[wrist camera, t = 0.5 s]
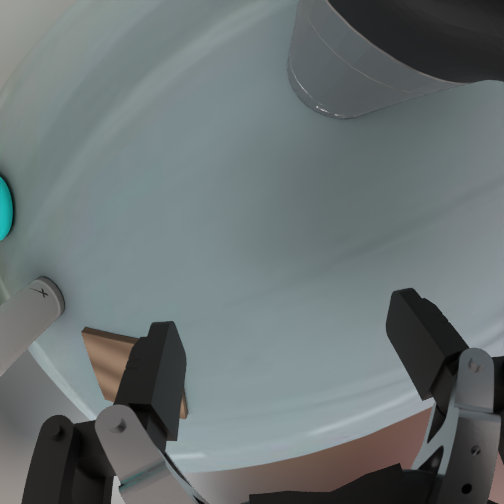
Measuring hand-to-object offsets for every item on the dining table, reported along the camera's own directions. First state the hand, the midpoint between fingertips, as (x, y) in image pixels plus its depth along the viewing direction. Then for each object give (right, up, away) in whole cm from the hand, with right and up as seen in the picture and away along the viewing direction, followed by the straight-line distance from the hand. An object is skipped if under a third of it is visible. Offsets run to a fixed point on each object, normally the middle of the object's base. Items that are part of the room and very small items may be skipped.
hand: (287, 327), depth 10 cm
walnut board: (-18, -15, +26) cm, 35 cm away
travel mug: (-30, -3, +23) cm, 38 cm away
